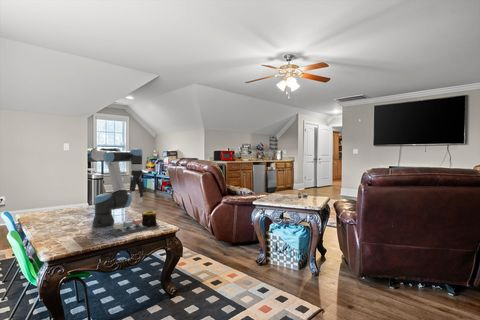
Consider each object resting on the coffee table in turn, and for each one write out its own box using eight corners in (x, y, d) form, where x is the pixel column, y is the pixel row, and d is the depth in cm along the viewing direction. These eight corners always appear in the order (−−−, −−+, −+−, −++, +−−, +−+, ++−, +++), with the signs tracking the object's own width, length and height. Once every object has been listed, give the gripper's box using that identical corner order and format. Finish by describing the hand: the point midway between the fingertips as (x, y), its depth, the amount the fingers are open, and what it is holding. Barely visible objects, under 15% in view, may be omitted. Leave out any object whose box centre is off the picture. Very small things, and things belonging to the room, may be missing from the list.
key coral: (132, 226, 199) (132, 219, 199) (138, 225, 203) (138, 218, 202) (136, 227, 196) (135, 220, 196) (141, 226, 200) (141, 219, 199)
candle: (141, 227, 203) (141, 214, 202) (142, 223, 213) (142, 211, 212) (156, 226, 206) (155, 213, 205) (156, 223, 215) (156, 210, 215)
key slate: (123, 228, 194) (123, 221, 193) (129, 227, 197) (129, 220, 197) (126, 229, 191) (126, 222, 191) (132, 228, 194) (132, 221, 194)
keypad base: (108, 232, 189) (108, 229, 189) (138, 226, 206) (138, 223, 206) (116, 236, 182) (116, 233, 182) (146, 229, 199) (146, 226, 199)
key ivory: (113, 230, 188) (113, 223, 188) (120, 229, 192) (120, 222, 192) (116, 232, 185) (116, 225, 185) (123, 230, 189) (123, 223, 189)
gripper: (124, 169, 202) (124, 199, 203) (140, 171, 188) (140, 203, 189) (133, 169, 208) (134, 198, 208) (149, 170, 194) (150, 202, 195)
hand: (137, 200), depth 199 cm, fingers open, 9 cm apart
